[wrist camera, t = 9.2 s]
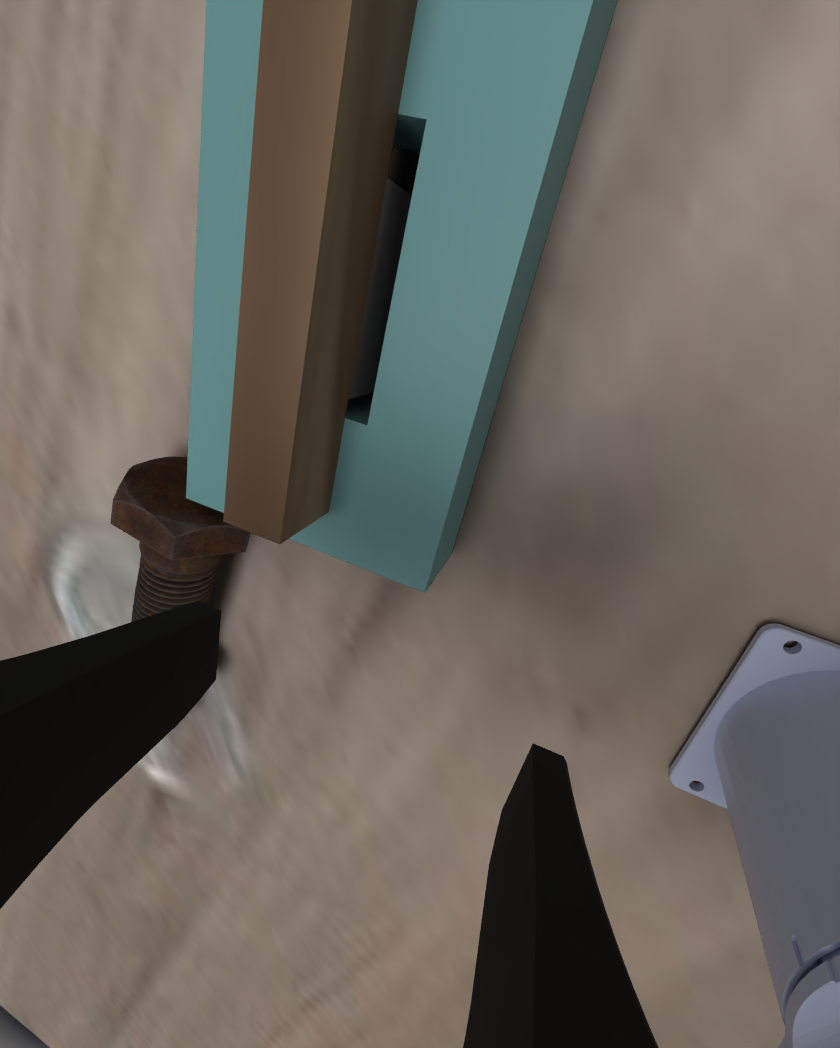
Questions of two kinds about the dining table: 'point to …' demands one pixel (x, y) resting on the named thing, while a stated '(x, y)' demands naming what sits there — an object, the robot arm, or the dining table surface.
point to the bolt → (171, 536)
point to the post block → (408, 260)
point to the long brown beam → (314, 250)
